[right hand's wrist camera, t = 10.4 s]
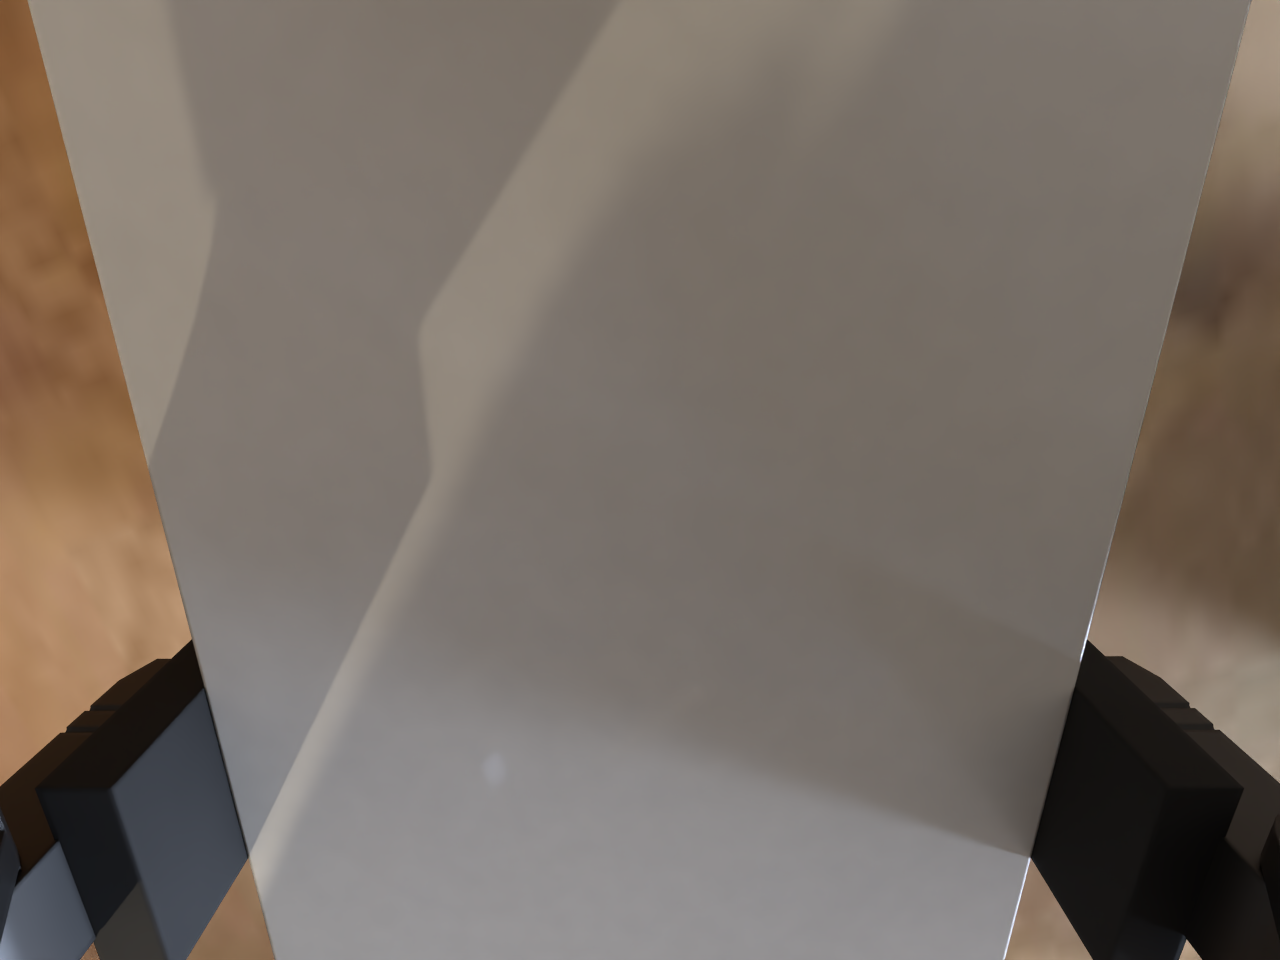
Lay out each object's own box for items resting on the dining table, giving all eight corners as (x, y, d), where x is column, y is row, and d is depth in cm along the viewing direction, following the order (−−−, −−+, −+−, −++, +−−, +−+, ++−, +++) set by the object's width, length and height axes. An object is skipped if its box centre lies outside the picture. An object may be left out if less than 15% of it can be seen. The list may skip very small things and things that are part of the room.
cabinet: (357, -254, 13) (-347, -1424, 4) (922, -253, 13) (1623, -1424, 4) (450, 613, 19) (276, 976, 10) (828, 613, 19) (1002, 976, 10)
